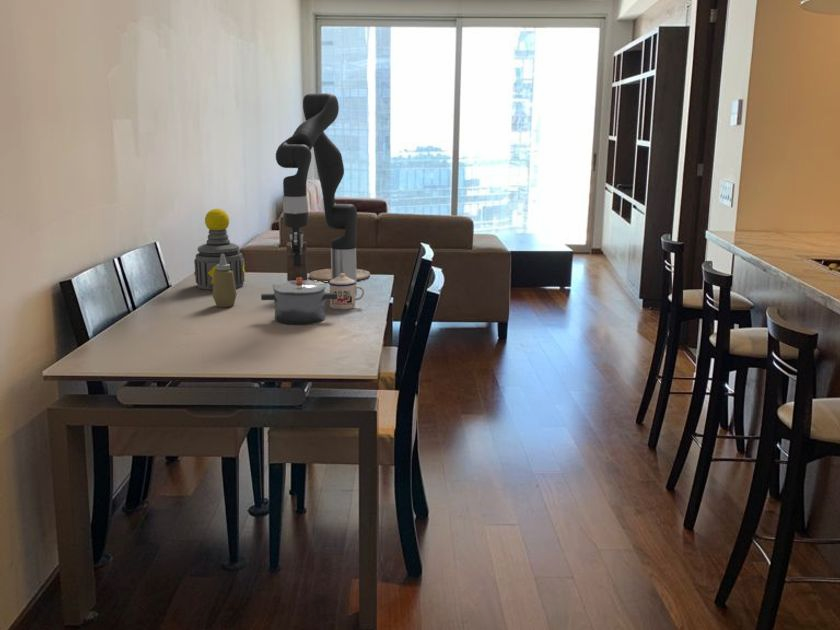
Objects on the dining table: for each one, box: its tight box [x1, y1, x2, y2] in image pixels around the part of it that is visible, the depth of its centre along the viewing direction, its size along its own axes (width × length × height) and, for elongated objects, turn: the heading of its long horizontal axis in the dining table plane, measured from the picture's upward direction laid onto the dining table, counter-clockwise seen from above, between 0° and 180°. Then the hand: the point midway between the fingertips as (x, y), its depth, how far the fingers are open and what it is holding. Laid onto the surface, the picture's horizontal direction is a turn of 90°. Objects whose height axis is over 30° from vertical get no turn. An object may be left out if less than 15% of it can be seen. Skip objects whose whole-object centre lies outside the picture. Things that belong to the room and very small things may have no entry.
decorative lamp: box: [193, 208, 246, 291], centre depth 310 cm, size 19×19×30 cm
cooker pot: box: [260, 289, 337, 326], centre depth 259 cm, size 16×24×10 cm, turn 95°
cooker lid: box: [272, 277, 326, 294], centre depth 257 cm, size 17×17×3 cm
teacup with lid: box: [328, 273, 365, 310], centre depth 276 cm, size 12×9×12 cm
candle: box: [286, 240, 308, 281], centre depth 293 cm, size 8×7×20 cm
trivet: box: [308, 268, 371, 283], centre depth 332 cm, size 25×25×2 cm
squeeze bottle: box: [212, 254, 237, 308], centre depth 277 cm, size 8×8×18 cm
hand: (297, 266), depth 251 cm, fingers closed
